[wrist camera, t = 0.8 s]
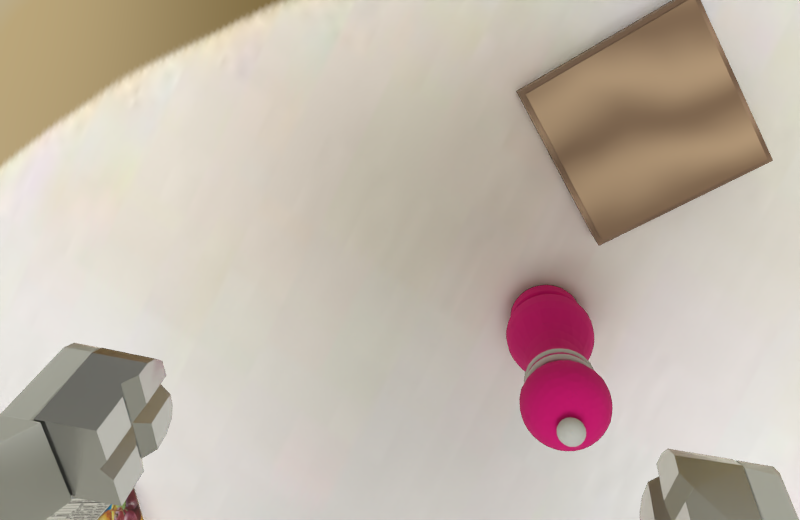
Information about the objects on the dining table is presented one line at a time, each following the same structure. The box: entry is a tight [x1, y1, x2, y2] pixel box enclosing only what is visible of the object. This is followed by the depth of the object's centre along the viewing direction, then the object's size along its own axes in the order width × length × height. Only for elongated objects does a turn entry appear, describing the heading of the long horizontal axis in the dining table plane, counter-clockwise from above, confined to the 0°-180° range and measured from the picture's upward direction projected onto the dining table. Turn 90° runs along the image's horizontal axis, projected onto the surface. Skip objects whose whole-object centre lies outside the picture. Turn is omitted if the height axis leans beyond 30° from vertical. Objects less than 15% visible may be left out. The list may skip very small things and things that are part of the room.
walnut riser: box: [517, 0, 773, 245], centre depth 48 cm, size 14×14×4 cm
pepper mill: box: [506, 285, 612, 451], centre depth 46 cm, size 7×7×20 cm
